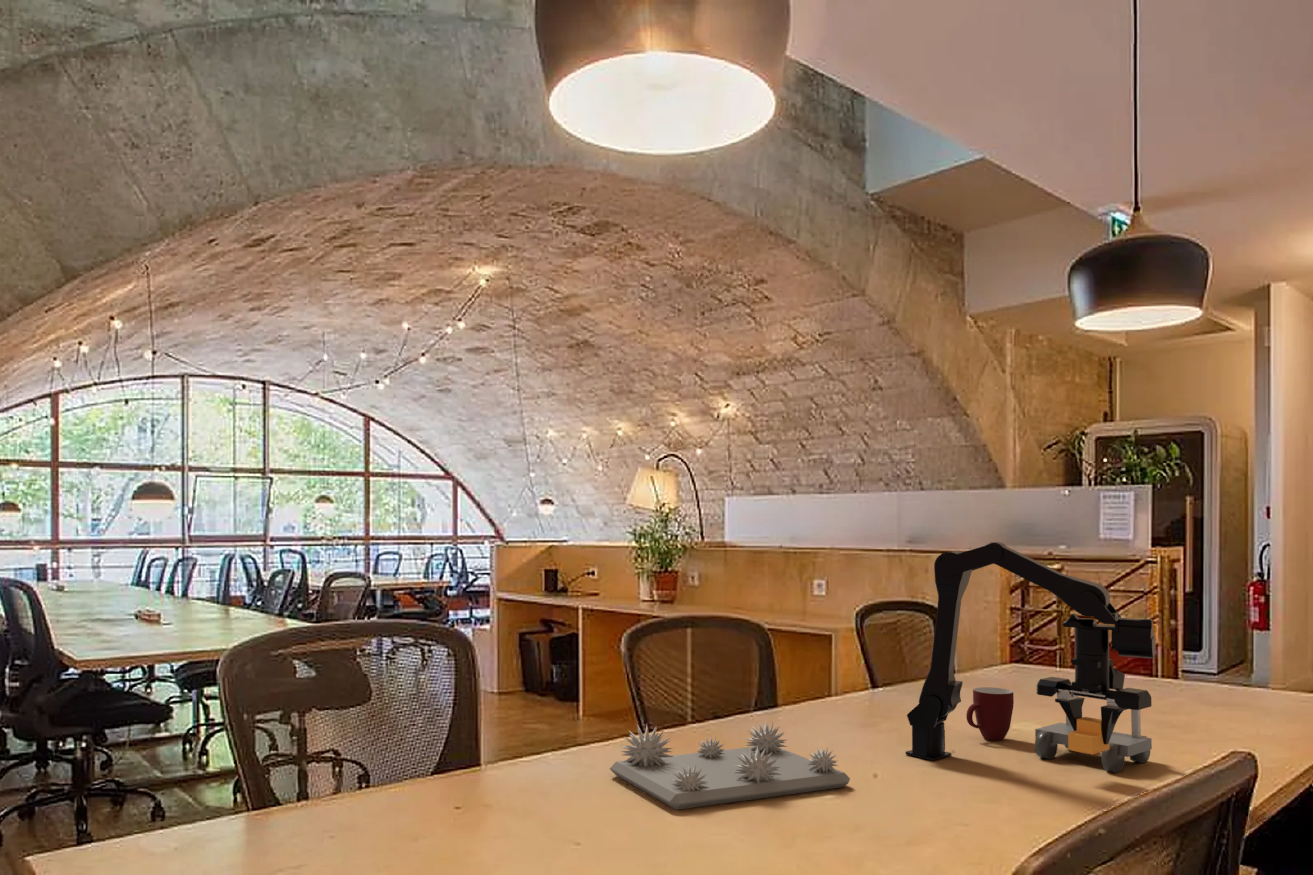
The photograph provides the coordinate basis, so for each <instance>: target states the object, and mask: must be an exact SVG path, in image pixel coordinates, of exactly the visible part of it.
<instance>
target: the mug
mask: <svg viewBox="0 0 1313 875" xmlns="http://www.w3.org/2000/svg"><path fill="white" fill-rule="evenodd" d="M1014 702H1015V700H1014V691H1013V690H1010V689H1008V688H1007V689H1006V688H1004V687H1003V688H1002V687H993V686H992V687H991V686H990V687H987V686H986V687H984V686H983V687H982V686H981V687H975V688H973V690H972V704H970V705H969V707H968V708H967V710H966V713H965V714H966V718H965V719H966V722H967V723H968V725H969V726H970V727H972V728H974V729H978V730H979V733H980V734H981V736H982V738H983V739H984V740H986V741H989V742H990V741H991V742H1002V741H1004V740H1005V738H1006V736H1007V734H1008V733H1009V731H1010V727H1011V722H1012V716H1013V711H1014ZM973 714H975V719H976V723H975V722H974V720H973Z"/></svg>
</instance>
